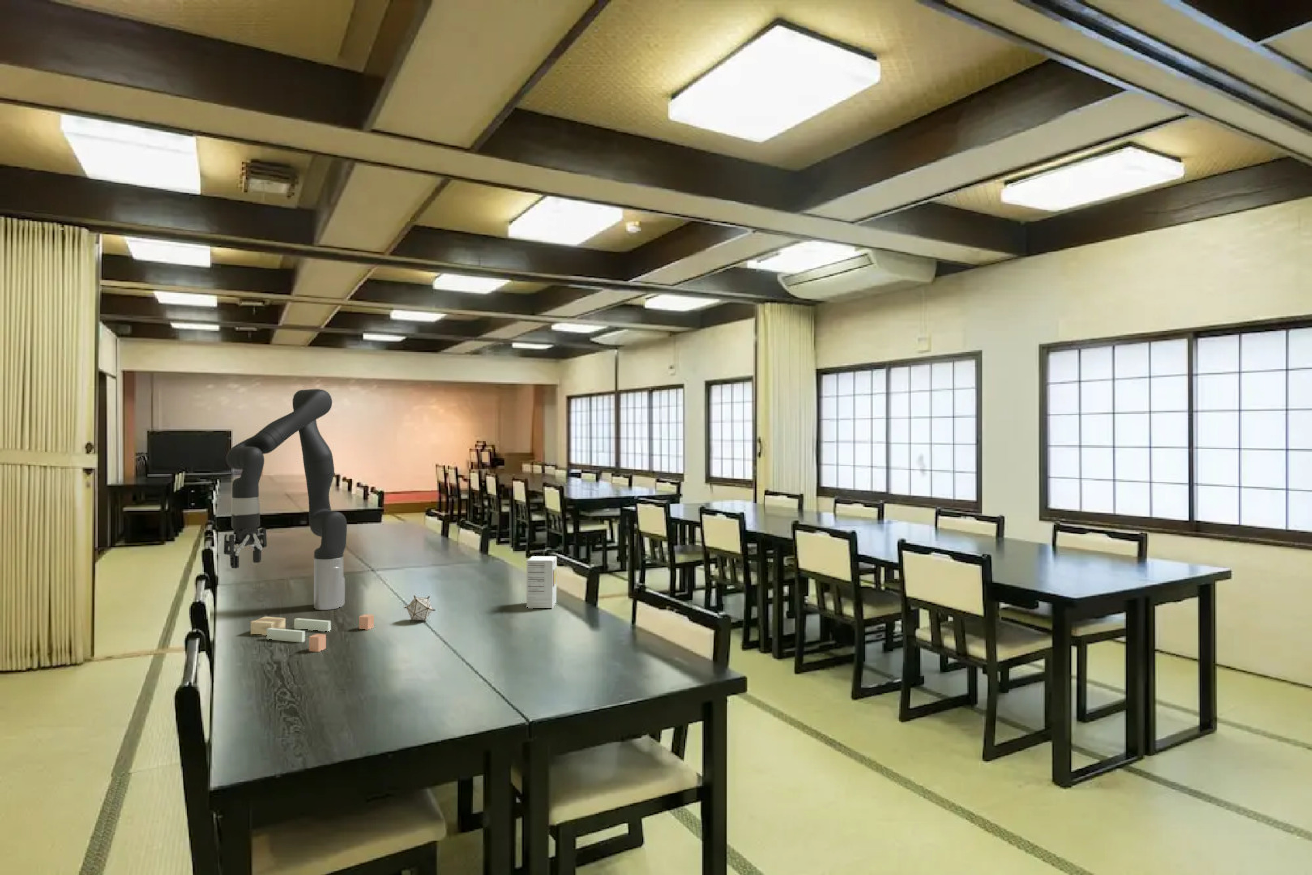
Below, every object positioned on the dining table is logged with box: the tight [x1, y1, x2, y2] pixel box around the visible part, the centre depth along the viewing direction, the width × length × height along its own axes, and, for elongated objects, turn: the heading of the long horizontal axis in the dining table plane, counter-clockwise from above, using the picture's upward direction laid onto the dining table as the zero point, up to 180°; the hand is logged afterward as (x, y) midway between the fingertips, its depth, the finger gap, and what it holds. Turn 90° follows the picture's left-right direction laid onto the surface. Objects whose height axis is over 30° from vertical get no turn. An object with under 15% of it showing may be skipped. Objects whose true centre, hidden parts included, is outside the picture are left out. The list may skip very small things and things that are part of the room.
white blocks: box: [266, 617, 332, 643], centre depth 214 cm, size 12×12×3 cm
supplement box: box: [526, 555, 558, 609], centre depth 252 cm, size 10×9×17 cm
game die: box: [403, 595, 436, 623], centre depth 230 cm, size 9×8×10 cm
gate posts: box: [308, 614, 375, 653], centre depth 210 cm, size 25×3×4 cm, turn 167°
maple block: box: [250, 616, 286, 636], centre depth 216 cm, size 6×7×4 cm
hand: (246, 565), depth 218 cm, fingers open, 8 cm apart
